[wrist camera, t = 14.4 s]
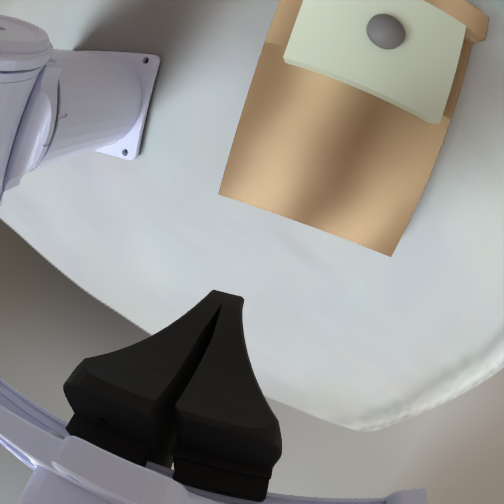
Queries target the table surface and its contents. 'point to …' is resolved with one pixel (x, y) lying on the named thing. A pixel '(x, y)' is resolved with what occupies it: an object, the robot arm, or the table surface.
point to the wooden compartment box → (336, 143)
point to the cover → (381, 49)
